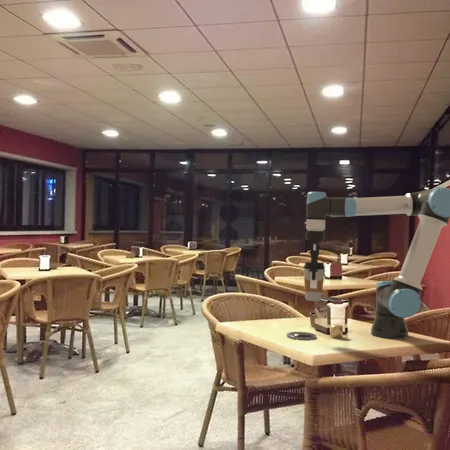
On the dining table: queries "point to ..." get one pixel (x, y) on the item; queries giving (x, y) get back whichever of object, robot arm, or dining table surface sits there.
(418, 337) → the dining table surface
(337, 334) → the brass coupling
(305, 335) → the flange plate
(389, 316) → the robot arm
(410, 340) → the dining table surface
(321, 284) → the coffee cup
